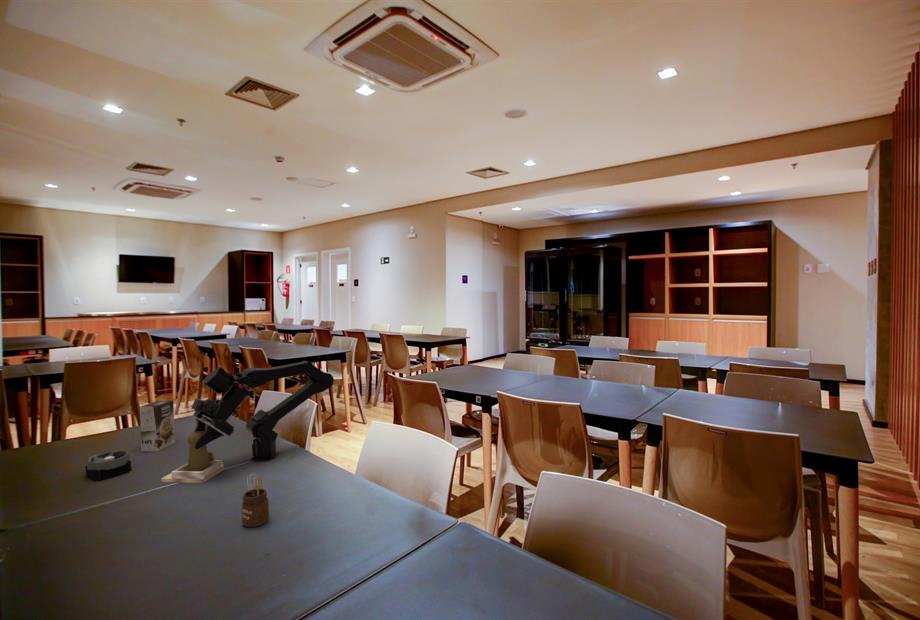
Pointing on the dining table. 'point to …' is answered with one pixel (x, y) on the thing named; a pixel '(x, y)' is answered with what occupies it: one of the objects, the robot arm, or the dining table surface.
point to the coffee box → (157, 425)
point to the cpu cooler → (108, 465)
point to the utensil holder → (255, 505)
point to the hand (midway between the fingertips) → (192, 446)
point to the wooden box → (195, 472)
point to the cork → (197, 453)
